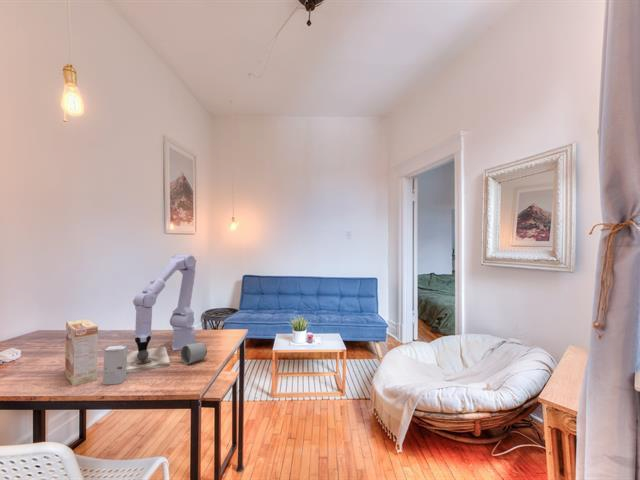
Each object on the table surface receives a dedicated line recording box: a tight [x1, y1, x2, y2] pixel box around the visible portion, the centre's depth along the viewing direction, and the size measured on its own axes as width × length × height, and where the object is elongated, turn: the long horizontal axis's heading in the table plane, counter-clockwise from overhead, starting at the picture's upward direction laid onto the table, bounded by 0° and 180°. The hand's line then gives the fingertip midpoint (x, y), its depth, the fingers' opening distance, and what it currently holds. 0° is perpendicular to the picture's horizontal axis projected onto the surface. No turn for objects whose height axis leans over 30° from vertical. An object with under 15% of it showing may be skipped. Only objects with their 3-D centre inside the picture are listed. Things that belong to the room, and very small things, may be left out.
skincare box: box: [102, 345, 129, 386], centre depth 107 cm, size 6×4×12 cm
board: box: [126, 346, 171, 375], centre depth 126 cm, size 18×22×2 cm
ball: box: [137, 350, 148, 360], centre depth 123 cm, size 4×4×4 cm
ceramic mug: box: [180, 342, 208, 365], centre depth 127 cm, size 11×8×8 cm
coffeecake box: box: [64, 318, 99, 387], centre depth 110 cm, size 15×7×20 cm, turn 48°
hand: (142, 355), depth 125 cm, fingers closed, pressing on ball
